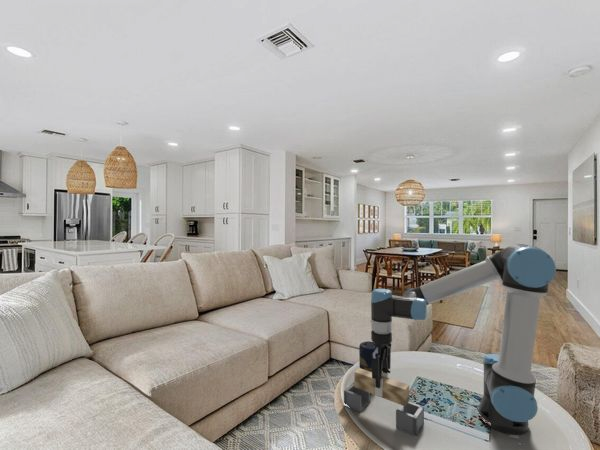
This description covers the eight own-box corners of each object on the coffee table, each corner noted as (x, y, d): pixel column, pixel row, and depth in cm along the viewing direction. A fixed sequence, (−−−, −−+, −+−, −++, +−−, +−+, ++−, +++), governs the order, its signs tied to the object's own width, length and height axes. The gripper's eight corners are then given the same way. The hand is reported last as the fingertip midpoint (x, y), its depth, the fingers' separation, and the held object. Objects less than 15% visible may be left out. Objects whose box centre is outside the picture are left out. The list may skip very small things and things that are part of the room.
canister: (381, 388, 134) (381, 347, 134) (359, 386, 136) (359, 345, 135) (380, 377, 143) (380, 339, 143) (359, 375, 145) (359, 337, 145)
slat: (408, 401, 111) (409, 384, 111) (405, 406, 108) (405, 389, 108) (359, 382, 124) (359, 367, 124) (354, 386, 121) (354, 371, 120)
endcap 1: (344, 405, 121) (343, 390, 121) (354, 396, 128) (354, 382, 128) (360, 412, 117) (359, 396, 117) (369, 402, 123) (369, 387, 123)
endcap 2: (423, 423, 110) (423, 406, 110) (416, 436, 104) (416, 418, 104) (404, 415, 115) (404, 399, 115) (396, 427, 108) (395, 410, 108)
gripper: (381, 322, 125) (381, 380, 125) (361, 335, 111) (361, 399, 111) (399, 326, 120) (399, 386, 120) (381, 340, 107) (381, 406, 107)
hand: (381, 392), depth 116 cm, fingers closed on slat, 4 cm apart
